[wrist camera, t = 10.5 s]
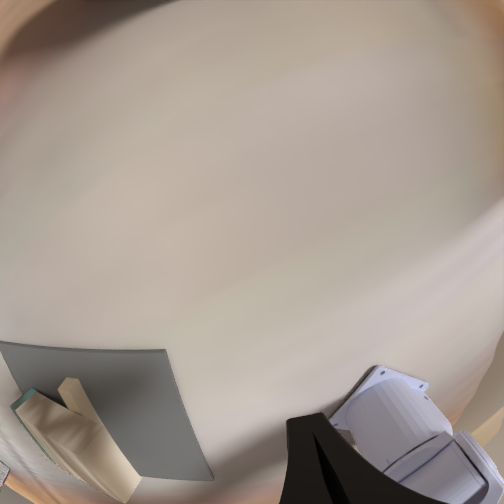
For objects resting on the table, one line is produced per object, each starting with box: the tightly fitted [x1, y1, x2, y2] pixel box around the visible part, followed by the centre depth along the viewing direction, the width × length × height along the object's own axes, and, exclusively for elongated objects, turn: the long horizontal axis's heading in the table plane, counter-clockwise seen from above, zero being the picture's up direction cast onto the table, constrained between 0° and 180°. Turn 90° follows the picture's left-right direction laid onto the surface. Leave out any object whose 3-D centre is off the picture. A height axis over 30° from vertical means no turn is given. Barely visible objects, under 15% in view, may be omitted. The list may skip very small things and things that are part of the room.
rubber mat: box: [0, 341, 214, 481], centre depth 19 cm, size 21×20×2 cm
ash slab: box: [10, 388, 142, 504], centre depth 16 cm, size 4×9×12 cm
